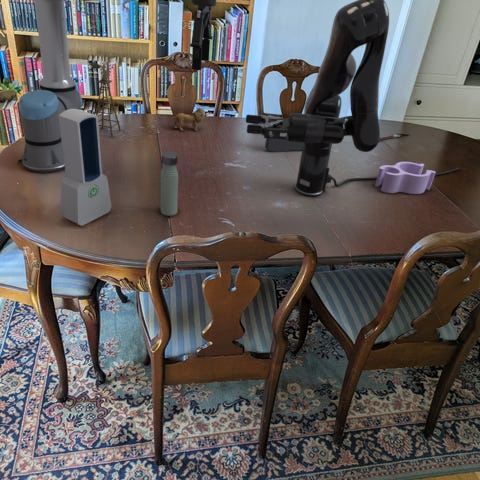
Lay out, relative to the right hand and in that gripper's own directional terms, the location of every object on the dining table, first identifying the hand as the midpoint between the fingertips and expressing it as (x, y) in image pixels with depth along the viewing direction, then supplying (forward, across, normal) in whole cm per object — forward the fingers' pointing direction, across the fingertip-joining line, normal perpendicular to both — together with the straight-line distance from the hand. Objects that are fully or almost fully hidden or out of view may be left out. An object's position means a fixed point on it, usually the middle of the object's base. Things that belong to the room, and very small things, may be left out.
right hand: (246, 123), depth 126 cm
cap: (+20, 0, +11) cm, 23 cm away
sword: (-71, -80, +27) cm, 111 cm away
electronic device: (+43, +5, +29) cm, 53 cm away
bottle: (+20, -1, +29) cm, 36 cm away
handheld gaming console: (-23, -58, +28) cm, 69 cm away
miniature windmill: (+52, -61, +28) cm, 85 cm away
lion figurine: (+20, -73, +28) cm, 80 cm away
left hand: (+14, -33, -7) cm, 37 cm away
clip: (-61, -30, +28) cm, 74 cm away
